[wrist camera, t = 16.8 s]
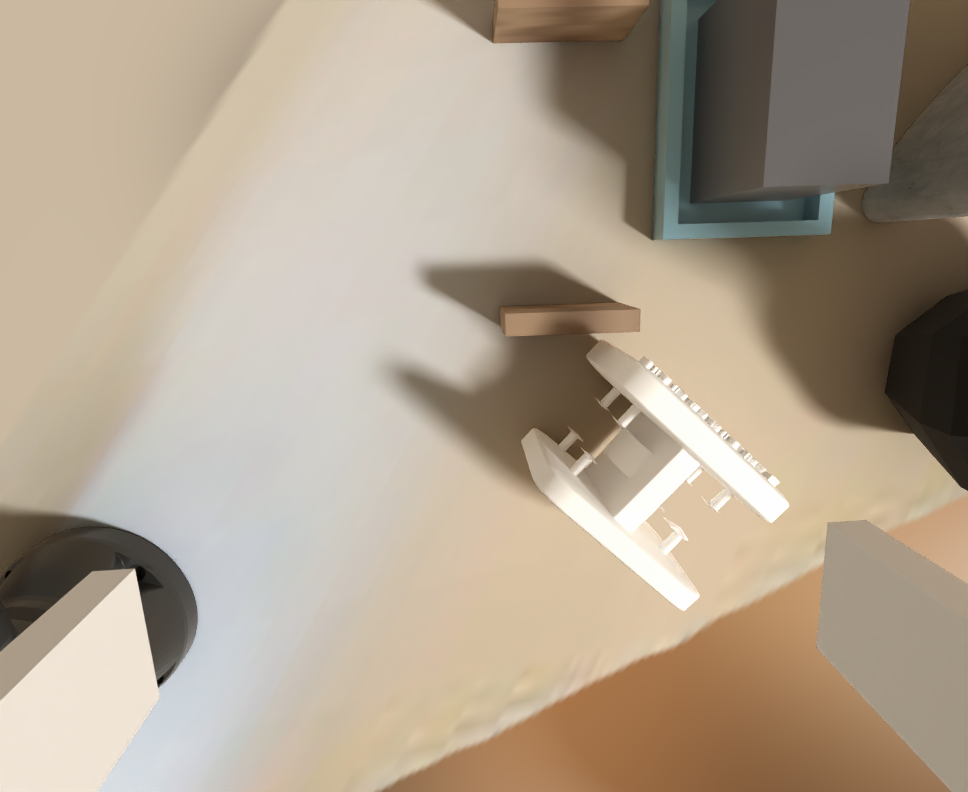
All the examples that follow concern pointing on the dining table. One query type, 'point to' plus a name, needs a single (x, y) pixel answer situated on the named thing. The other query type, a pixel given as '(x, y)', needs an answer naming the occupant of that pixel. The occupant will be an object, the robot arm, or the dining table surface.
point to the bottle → (935, 382)
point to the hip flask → (928, 163)
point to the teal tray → (674, 153)
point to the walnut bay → (561, 18)
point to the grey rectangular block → (795, 97)
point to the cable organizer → (647, 471)
